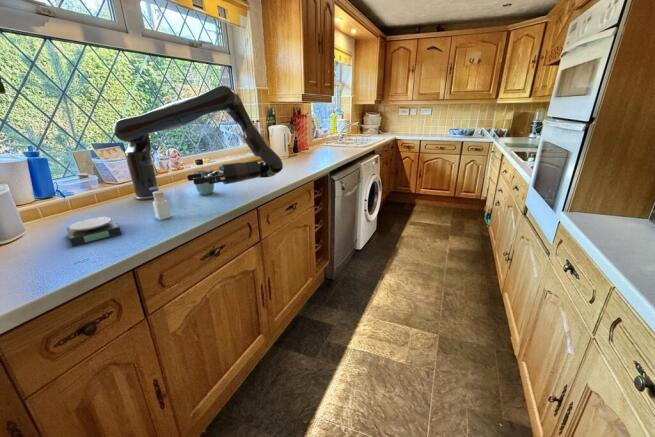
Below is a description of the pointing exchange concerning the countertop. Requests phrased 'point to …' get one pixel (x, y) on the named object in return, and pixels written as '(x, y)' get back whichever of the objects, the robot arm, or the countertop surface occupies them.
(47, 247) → the countertop surface
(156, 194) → the salt shaker
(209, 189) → the cup
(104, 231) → the scale
